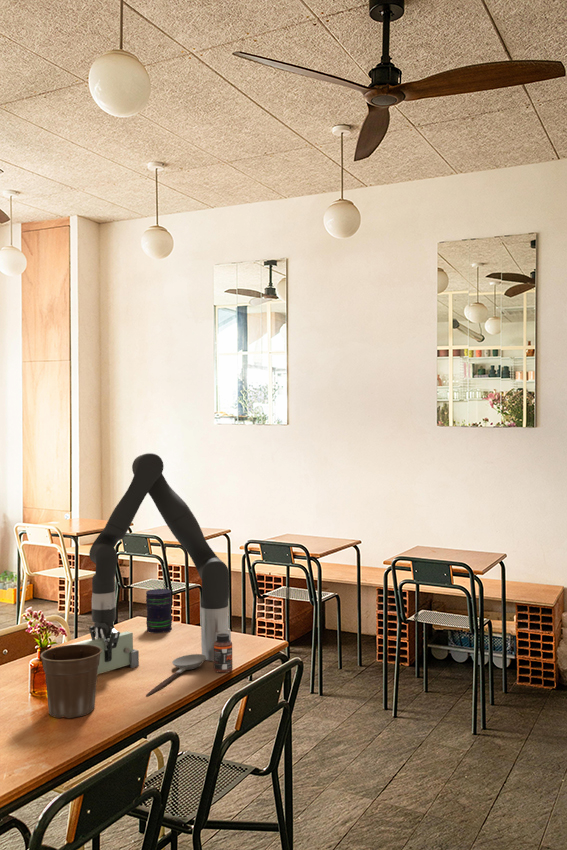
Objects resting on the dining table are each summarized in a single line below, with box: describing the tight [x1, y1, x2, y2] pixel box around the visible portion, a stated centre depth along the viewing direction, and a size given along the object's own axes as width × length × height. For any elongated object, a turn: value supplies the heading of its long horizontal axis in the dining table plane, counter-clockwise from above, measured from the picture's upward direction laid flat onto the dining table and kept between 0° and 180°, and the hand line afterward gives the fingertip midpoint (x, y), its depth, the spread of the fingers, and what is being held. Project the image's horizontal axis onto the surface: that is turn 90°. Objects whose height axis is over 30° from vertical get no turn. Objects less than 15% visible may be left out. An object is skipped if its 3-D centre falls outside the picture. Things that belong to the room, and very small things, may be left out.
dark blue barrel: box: [145, 588, 173, 634], centre depth 285 cm, size 10×10×15 cm
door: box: [76, 630, 134, 675], centre depth 232 cm, size 4×20×10 cm, turn 139°
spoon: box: [145, 653, 206, 697], centre depth 226 cm, size 11×33×3 cm, turn 161°
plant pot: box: [40, 644, 102, 719], centre depth 201 cm, size 16×16×16 cm
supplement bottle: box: [213, 633, 233, 674], centre depth 233 cm, size 6×6×11 cm
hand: (104, 660), depth 233 cm, fingers closed on door, 3 cm apart
